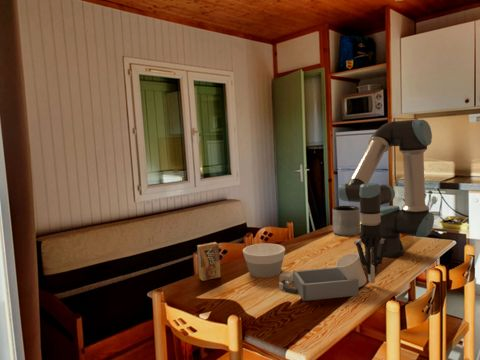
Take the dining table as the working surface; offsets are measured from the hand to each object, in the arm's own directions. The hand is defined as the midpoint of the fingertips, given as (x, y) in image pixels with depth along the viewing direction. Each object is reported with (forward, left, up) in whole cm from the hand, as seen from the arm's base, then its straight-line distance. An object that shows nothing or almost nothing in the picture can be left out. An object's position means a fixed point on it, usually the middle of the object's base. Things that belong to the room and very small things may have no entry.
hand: (371, 281), depth 153 cm
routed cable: (+33, -6, -2) cm, 33 cm away
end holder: (+18, 0, -2) cm, 19 cm away
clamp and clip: (+32, -10, -2) cm, 34 cm away
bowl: (+38, -26, -2) cm, 47 cm away
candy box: (+63, -25, -2) cm, 68 cm away
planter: (-21, -80, -2) cm, 83 cm away
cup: (+5, 0, -1) cm, 5 cm away
